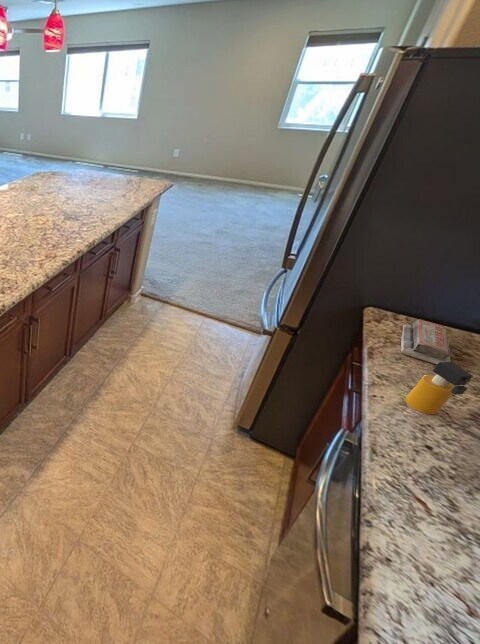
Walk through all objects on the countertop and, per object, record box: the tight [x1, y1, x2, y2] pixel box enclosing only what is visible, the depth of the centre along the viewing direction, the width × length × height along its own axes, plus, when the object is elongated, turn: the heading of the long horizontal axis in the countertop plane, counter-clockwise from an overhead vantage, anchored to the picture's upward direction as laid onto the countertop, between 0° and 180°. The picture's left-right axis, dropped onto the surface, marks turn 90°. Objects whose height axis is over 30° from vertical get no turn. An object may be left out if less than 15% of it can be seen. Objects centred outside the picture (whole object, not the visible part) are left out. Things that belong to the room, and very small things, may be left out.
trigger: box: [451, 385, 468, 395], centre depth 91 cm, size 1×2×2 cm, turn 92°
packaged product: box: [400, 319, 452, 365], centre depth 115 cm, size 18×5×10 cm
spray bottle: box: [405, 361, 474, 415], centre depth 94 cm, size 6×6×14 cm
